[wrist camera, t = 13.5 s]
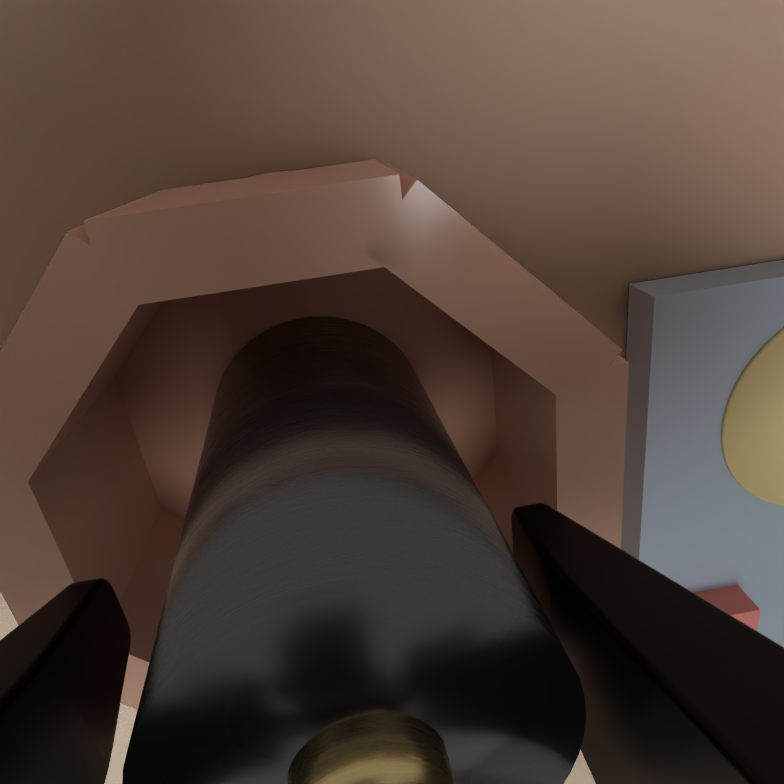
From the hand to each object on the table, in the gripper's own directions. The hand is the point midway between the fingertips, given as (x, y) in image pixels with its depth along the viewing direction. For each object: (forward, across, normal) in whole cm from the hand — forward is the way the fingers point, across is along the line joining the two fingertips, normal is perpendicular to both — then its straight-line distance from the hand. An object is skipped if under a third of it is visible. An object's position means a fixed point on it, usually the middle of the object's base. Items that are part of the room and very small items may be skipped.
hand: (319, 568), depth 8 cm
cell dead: (+4, 0, 0) cm, 4 cm away
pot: (+5, 0, 0) cm, 5 cm away
